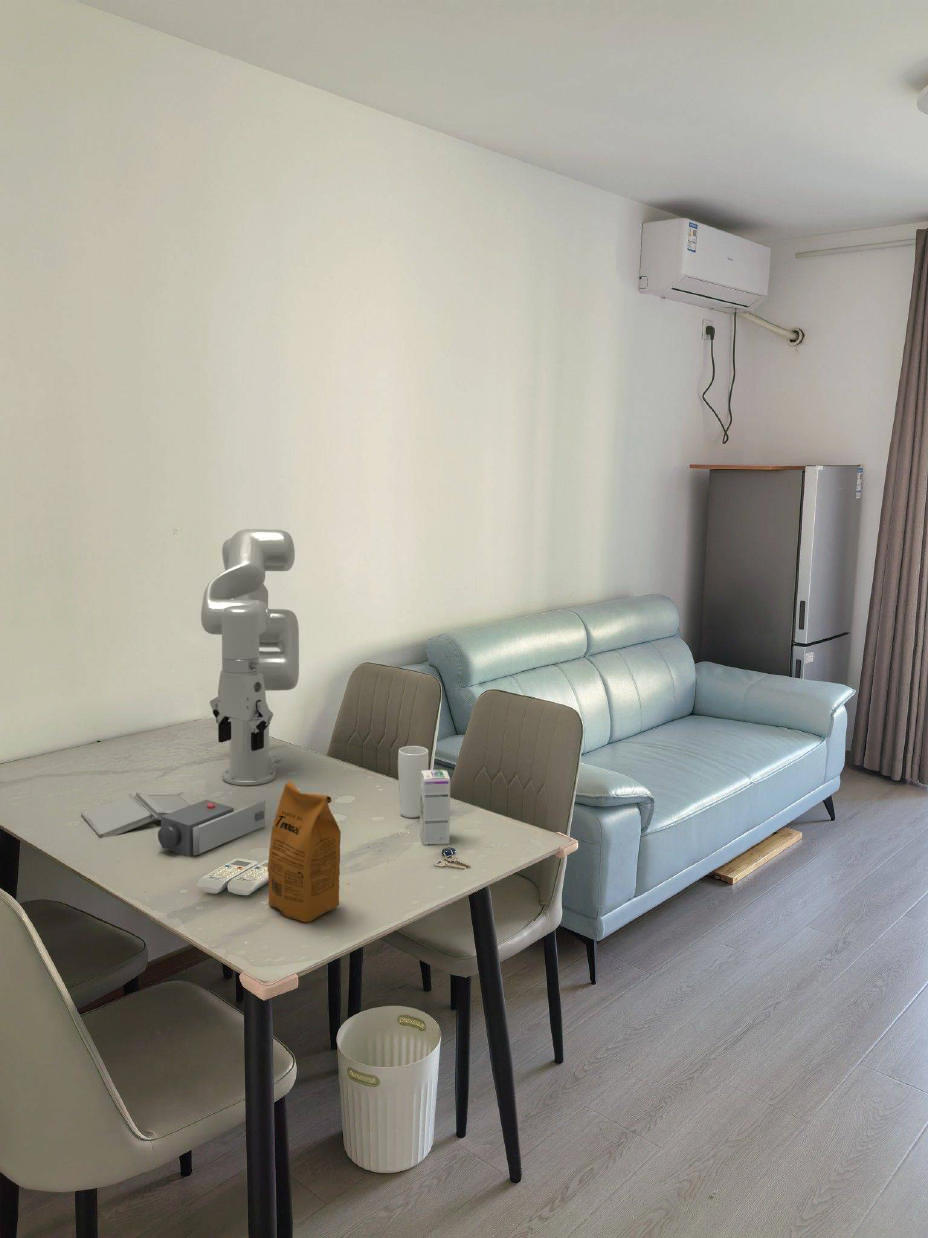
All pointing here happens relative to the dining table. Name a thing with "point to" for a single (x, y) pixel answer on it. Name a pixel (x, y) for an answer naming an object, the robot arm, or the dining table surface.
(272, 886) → the coffee package
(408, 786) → the drinking glass
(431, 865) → the dining table surface
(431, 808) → the syrup box
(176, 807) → the gadget
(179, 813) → the gray box with knob
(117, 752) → the dining table surface
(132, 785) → the dining table surface
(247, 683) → the robot arm
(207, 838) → the side door
